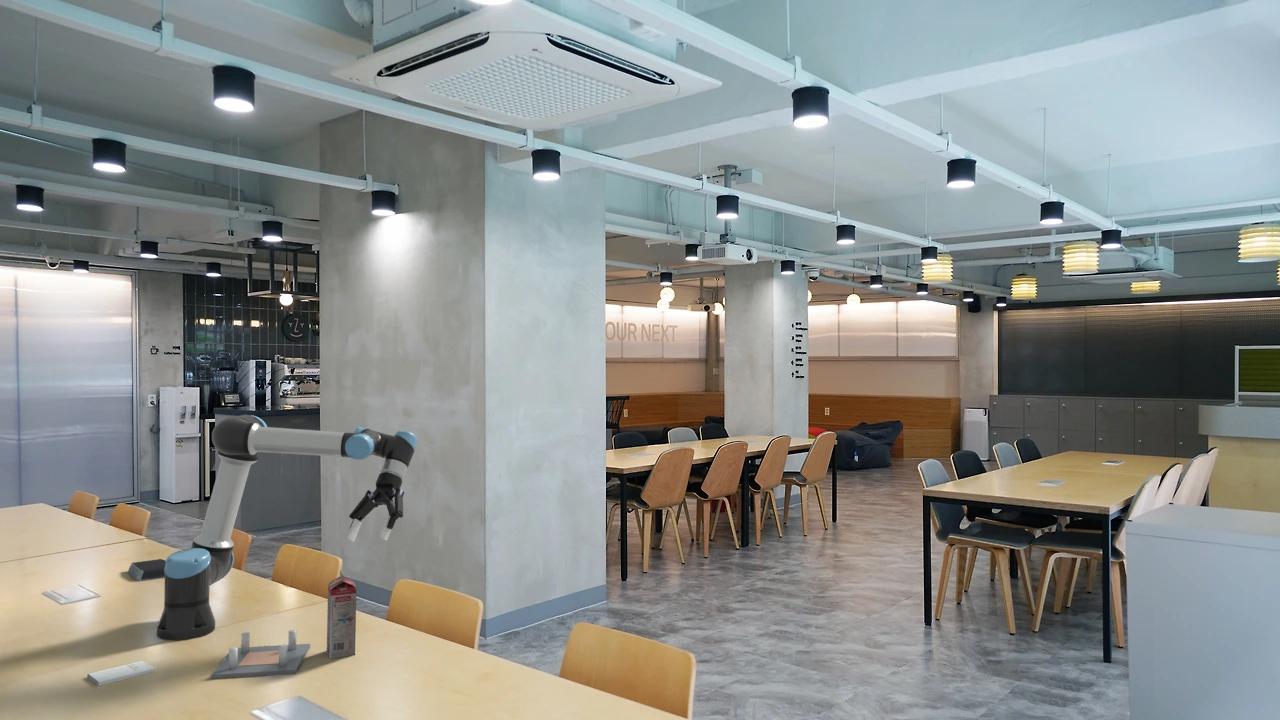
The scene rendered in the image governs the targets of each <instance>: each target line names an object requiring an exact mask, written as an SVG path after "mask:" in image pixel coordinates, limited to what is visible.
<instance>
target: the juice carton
mask: <svg viewBox="0 0 1280 720" xmlns="http://www.w3.org/2000/svg"><path fill="white" fill-rule="evenodd" d="M326 621H327V623H326V653H327V655H328V658H329V659H334V658H342V657H348V656H349V655H350V656H355V655H356V629H357V624H356V622H357V586H356V583H354V581H353V580H352V579H349V578H347V577H345V575H344V574H343V572H342V570H340V571H339V576H338V577H336V578H334V579H332V580H331V581H329V582H328V584H327V619H326Z"/></svg>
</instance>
